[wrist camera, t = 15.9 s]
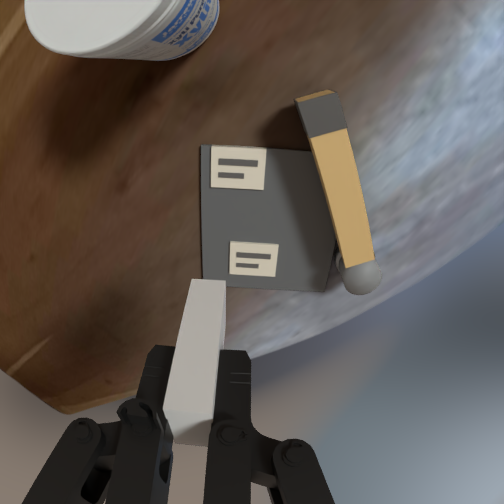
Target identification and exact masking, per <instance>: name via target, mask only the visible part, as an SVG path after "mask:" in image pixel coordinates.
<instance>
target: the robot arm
mask: <svg viewBox="0 0 504 504" xmlns="http://www.w3.org/2000/svg"><path fill="white" fill-rule="evenodd" d="M225 325H226V281H224V280H206V279H192V281H191V285H190V289H189V293H188V297H187V301H186V305H185V309H184V313H183V318H182V322H181V326H180V330H179V335H178V339H177V344H176V347H173V346H163V345H155V346H154V347H153V349H152V350H151V351H150V352H149V353H148V355H147V359H146V362H145V367H144V369H143V373H142V377H141V380H140V384H139V388H138V391H137V395H136V398H133V399H130V400H127V401H125V402H124V403H123V404H121V405H120V406H119V408H118V410H117V414H118V416H119V418H120V419H121V420H120V421H117V422H111V423H102V424H97V423H96V422H95V421H93V420H92V419H89V418H78V419H76V420H74V421H73V422H72V423H71V424H70V425H69V426H68V427H67V429H66V430H65V432H64V434H63V435H62V437H61V438H60V440H59V442H58V443H57V445H56V446H55V448H54V450H53V451H52V453H51V455H50V456H49V458H48V460H47V461H46V463H45V465H44V466H43V468H42V470H41V471H40V473H39V475H38V476H37V478H36V480H35V481H34V483H33V485H32V487H31V488H30V490H29V492H28V494H27V495H26V497H25V499H24V501H23V502H22V504H103V503H104V501H105V499H106V503H105V504H167V502H168V494H169V486H170V478H171V471H172V463H173V452H172V443H173V439H174V442H175V443H177V444H185V445H195V446H206V447H208V453H207V465H206V475H205V488H204V500H203V504H251V503H250V501H251V482H253V483H256V484H259V485H262V486H266V487H267V490H268V493H269V496H270V499H271V502H272V504H335V503H334V500H333V498H332V495H331V493H330V490H329V488H328V485H327V483H326V480H325V478H324V475H323V473H322V470H321V467H320V465H319V463H318V460H317V457H316V455H315V452H314V450H313V449H312V447H311V446H310V445H309V444H308V443H306V442H305V441H303V440H299V439H287V440H285V441H278V440H275V439H272V438H268V437H266V436H264V435H262V434H260V433H259V432H258V431H257V430H256V429H255V428H254V427H253V425H252V422H251V360H250V358H249V356H248V354H247V352H246V351H242V350H223V348H224V336H225Z"/></svg>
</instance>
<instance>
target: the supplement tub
mask: <svg viewBox="0 0 504 504" xmlns="http://www.w3.org/2000/svg"><path fill="white" fill-rule="evenodd" d="M218 16H219V0H25V18H26V22H27V25H28V28H29V30H30V32H31V33H32V35H33V37H34V38H35V39H36V40H37V41H38V42H39V43H40V44H41V45H42V46H44V47H45V48H47V49H49V50H51V51H53V52H56V53H60V54H65V55H71V56H75V57H84V58H114V59H136V60H152V61H164V60H171V59H175V58H179V57H181V56H184V55H186V54H188V53H190V52H192V51H193V50H195V49H196V48H198V47H199V46H200V45H201V44H202V43H203V42H204V41H205V40H206V39H207V38H208V37H209V35H210V34H211V32H212V31H213V29H214V27H215V25H216V23H217V20H218Z"/></svg>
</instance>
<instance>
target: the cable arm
mask: <svg viewBox="0 0 504 504" xmlns="http://www.w3.org/2000/svg"><path fill="white" fill-rule="evenodd" d="M294 102H295V105H296V108H297V111H298V114H299V117H300V120H301V123H302V126H303V129H304V131H305V133H306V134H307V137H308V140H309V143H310V147H311V150H312V153H313V156H314V160H315V163H316V166H317V170H318V173H319V176H320V180H321V183H322V187H323V190H324V194H325V197H326V201H327V204H328V208H329V212H330V216H331V219H332V223H333V227H334V231H335V235H336V239H337V243H338V247H339V251H340V254H341V258H340V260H339V270H340V273H341V276H342V279H343V282H344V285H345V288H346V289H347V291H348V292H350V293H352V294H354V295H364V294H368V293H370V292H372V291H373V290H375V289H376V288H377V287H378V285H379V284H380V282H381V279H382V272H381V270H380V268H379V266H378V264H377V262H376V260H375V258H374V252H373V246H372V240H371V234H370V229H369V224H368V219H367V213H366V209H365V204H364V199H363V194H362V190H361V185H360V181H359V177H358V172H357V168H356V164H355V160H354V156H353V152H352V148H351V144H350V141H349V137H348V133H347V129H346V128H347V124H346V121H345V117H344V114H343V110H342V107H341V103H340V100H339V97H338V94H337V92H335V91H332V90H325V91H321V92H317V93H314V94H310V95H306V96H303V97H299V98H296V99H294Z"/></svg>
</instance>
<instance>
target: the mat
mask: <svg viewBox="0 0 504 504" xmlns="http://www.w3.org/2000/svg"><path fill="white" fill-rule="evenodd" d="M211 146H214V145H201V219H202V259H203V279H206V280H224V281H226V286H228V287H243V288H260V289H277V290H296V291H317V292H324V291H325V287H326V283H327V278H328V274H329V270H330V265H331V261H332V256H333V251H334V247H335V242H336V235H335V231H334V227H333V223H332V219H331V216H330V212H329V208H328V204H327V201H326V197H325V194H324V190H323V187H322V183H321V180H320V176H319V173H318V170H317V166H316V163H315V160H314V156H313V153H312V152H311V151H301V150H290V149H278V148H265V149H267V150H266V164H265V177H264V190H256V189H239V188H220V187H211ZM229 147H235V146H229ZM249 148H253V147H249ZM230 241H236V242H252V243H268V244H279V247H278V256H277V264H276V272H275V277H270V276H253V275H237V274H230Z"/></svg>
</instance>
